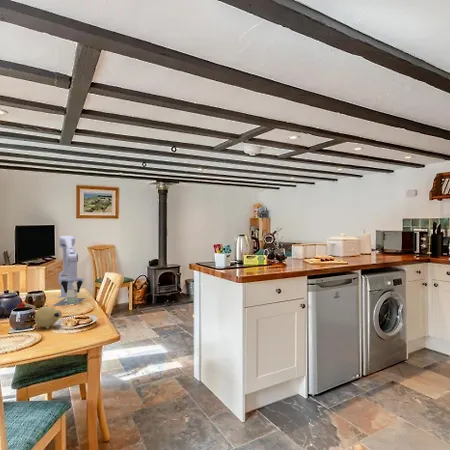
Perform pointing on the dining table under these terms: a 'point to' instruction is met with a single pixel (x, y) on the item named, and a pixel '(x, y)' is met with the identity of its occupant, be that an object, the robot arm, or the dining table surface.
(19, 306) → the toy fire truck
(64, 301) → the mat
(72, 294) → the top block
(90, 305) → the dining table surface
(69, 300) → the base block
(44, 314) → the toy pig
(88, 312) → the dining table surface
